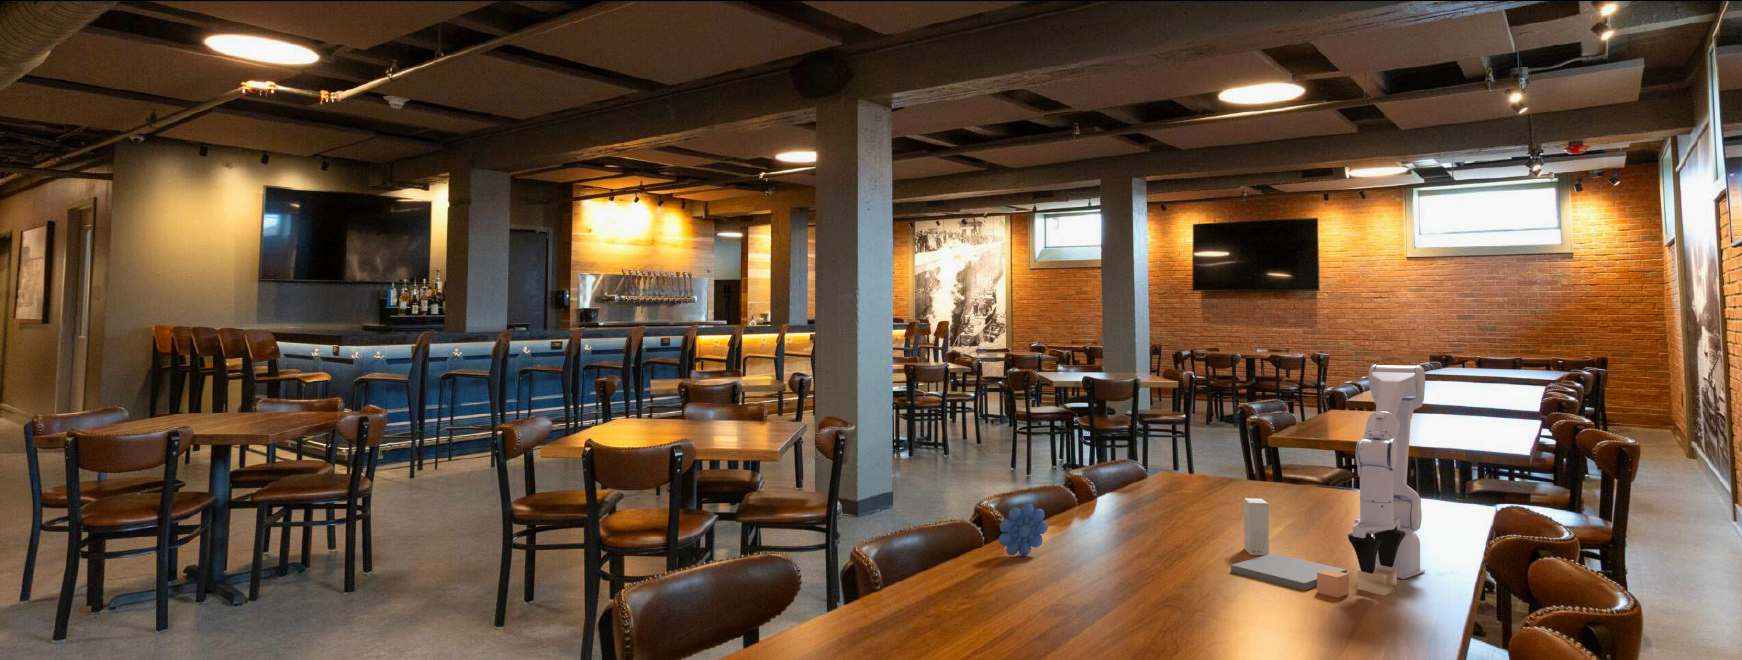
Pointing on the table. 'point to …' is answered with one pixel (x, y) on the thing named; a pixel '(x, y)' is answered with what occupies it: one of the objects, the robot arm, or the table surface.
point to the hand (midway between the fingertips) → (1377, 569)
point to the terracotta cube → (1332, 583)
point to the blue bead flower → (1023, 530)
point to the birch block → (1378, 581)
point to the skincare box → (1256, 526)
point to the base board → (1283, 570)
